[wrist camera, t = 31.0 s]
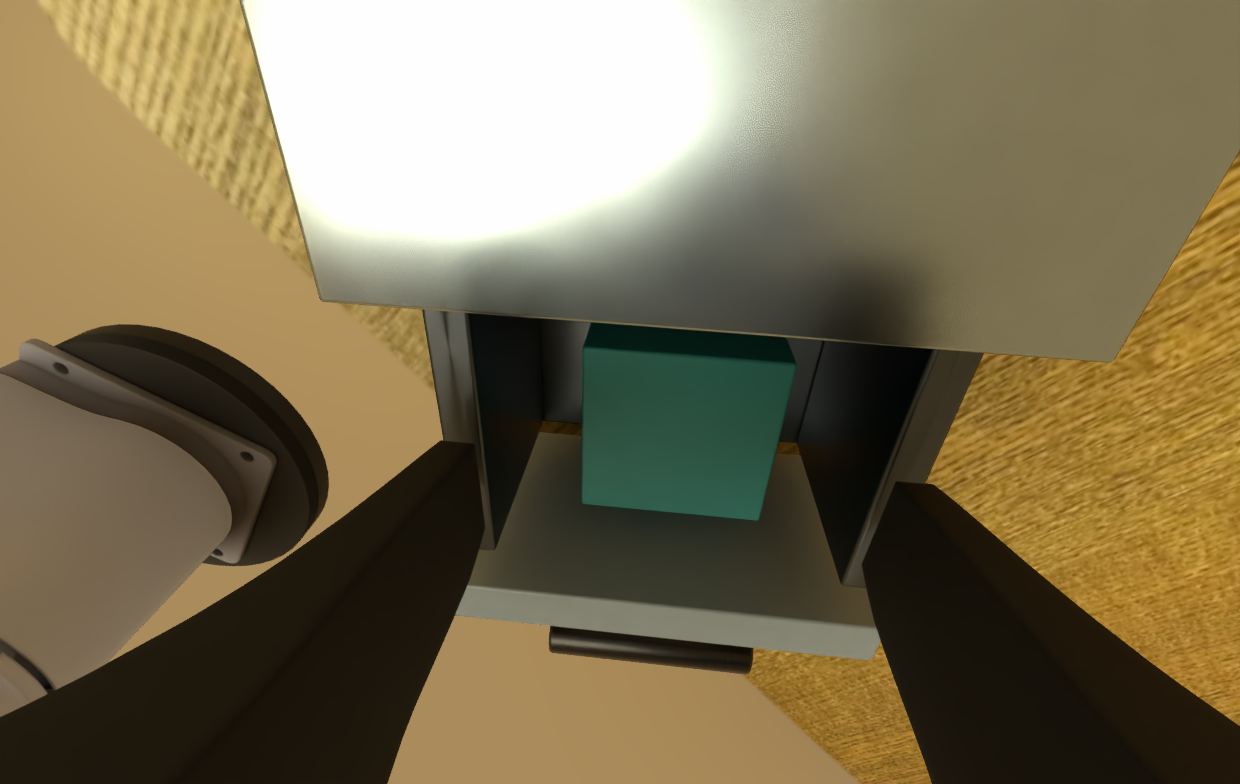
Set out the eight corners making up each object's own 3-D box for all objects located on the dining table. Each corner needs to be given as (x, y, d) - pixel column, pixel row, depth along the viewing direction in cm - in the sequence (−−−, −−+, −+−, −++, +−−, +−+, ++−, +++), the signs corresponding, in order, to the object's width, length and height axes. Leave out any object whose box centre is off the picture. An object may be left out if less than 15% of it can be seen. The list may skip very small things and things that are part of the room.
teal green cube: (602, 407, 16) (581, 504, 12) (605, 274, 13) (581, 347, 10) (741, 420, 15) (759, 522, 12) (767, 286, 13) (799, 364, 10)
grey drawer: (788, 569, 20) (828, 750, 15) (520, 542, 20) (467, 707, 15) (955, 33, 11) (1198, 11, 6) (478, 11, 12) (321, -26, 6)
